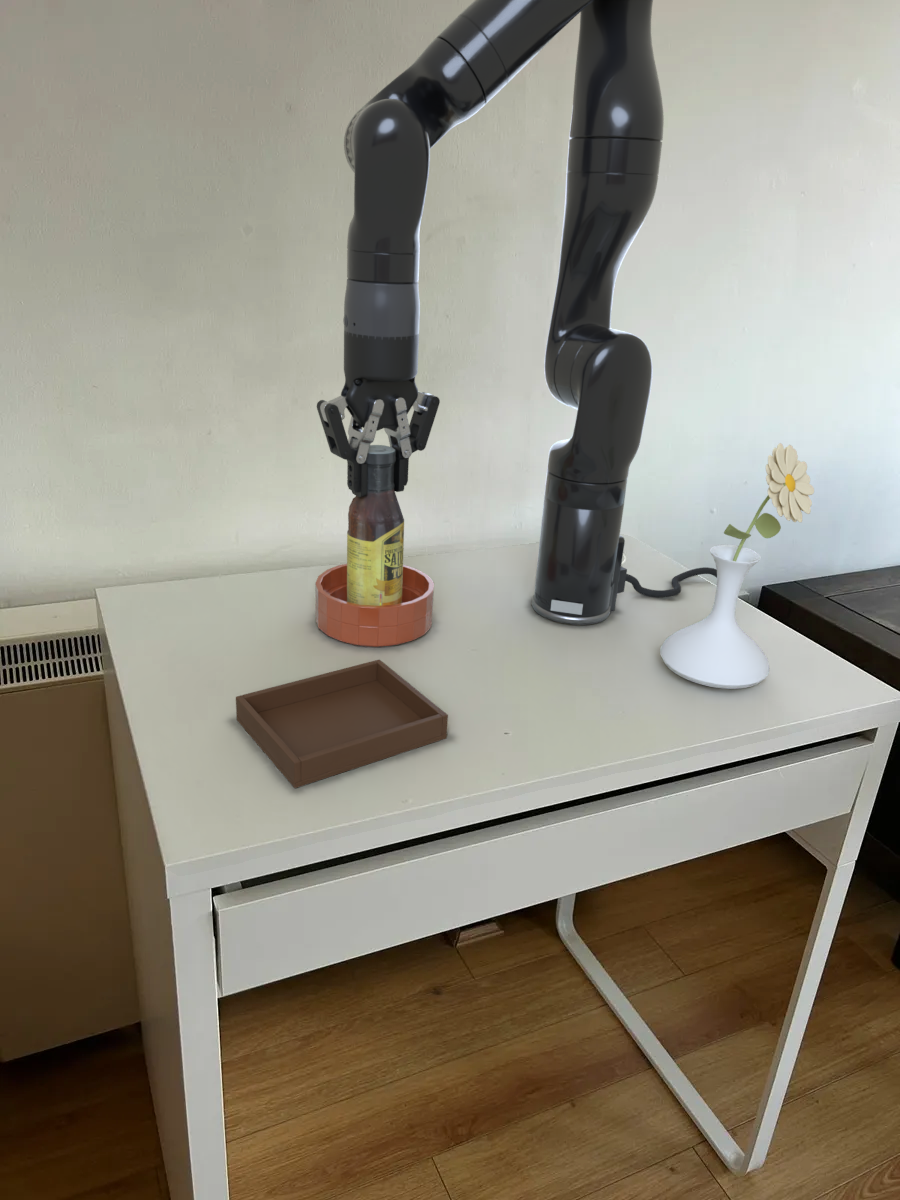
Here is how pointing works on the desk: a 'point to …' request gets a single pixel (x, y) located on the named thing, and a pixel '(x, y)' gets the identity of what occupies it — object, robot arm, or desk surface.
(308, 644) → the desk surface
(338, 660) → the desk surface
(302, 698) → the tray
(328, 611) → the bowl
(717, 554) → the flower in vase
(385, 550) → the sauce bottle
